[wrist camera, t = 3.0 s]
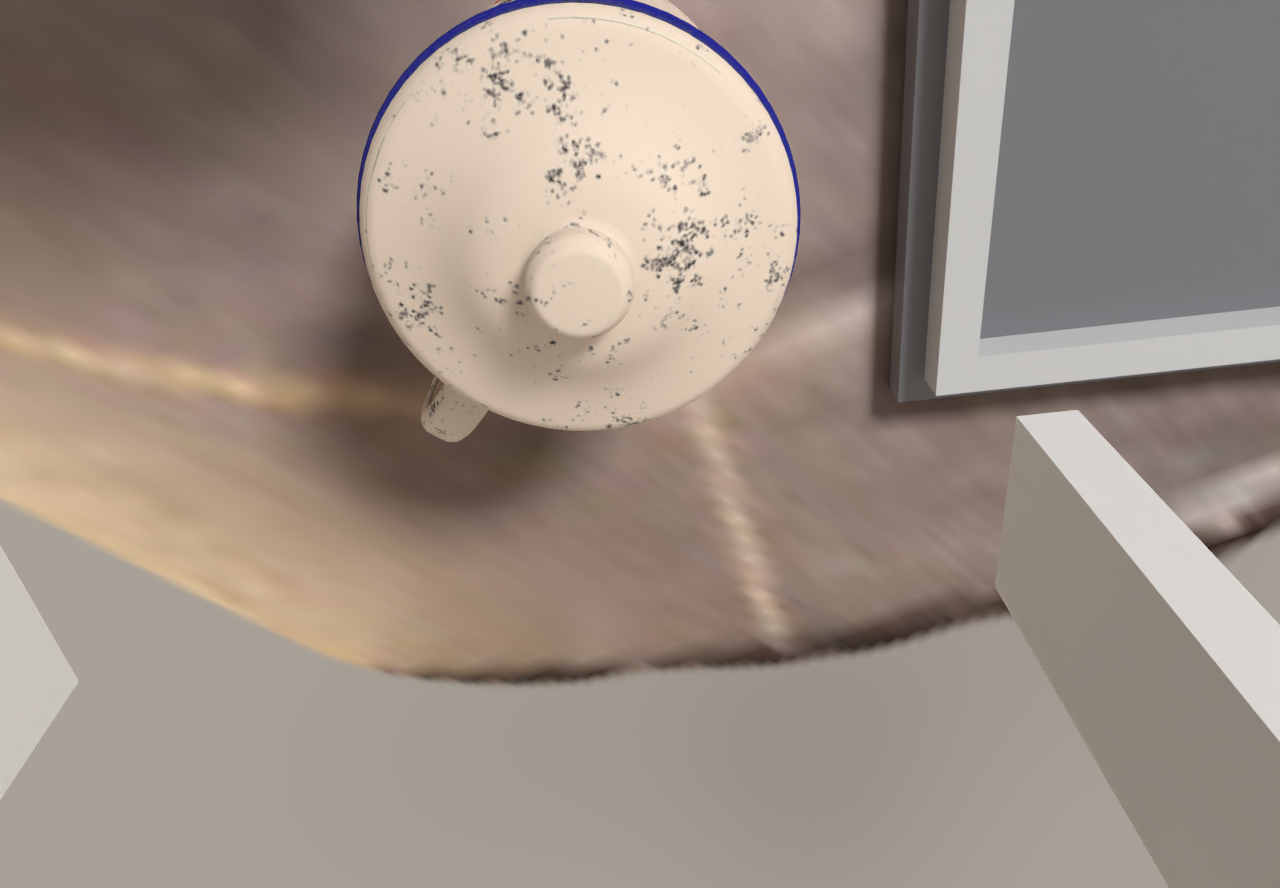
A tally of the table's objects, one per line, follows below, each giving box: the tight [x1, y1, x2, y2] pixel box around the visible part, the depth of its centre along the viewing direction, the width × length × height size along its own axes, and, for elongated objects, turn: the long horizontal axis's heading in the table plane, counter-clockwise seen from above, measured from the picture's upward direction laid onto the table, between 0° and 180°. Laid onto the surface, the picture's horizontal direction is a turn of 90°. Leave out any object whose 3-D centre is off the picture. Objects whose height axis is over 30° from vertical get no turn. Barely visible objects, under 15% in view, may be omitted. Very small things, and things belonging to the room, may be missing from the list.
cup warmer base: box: [890, 0, 1280, 403], centre depth 24 cm, size 18×22×2 cm
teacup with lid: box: [357, 0, 800, 442], centre depth 22 cm, size 12×9×12 cm
